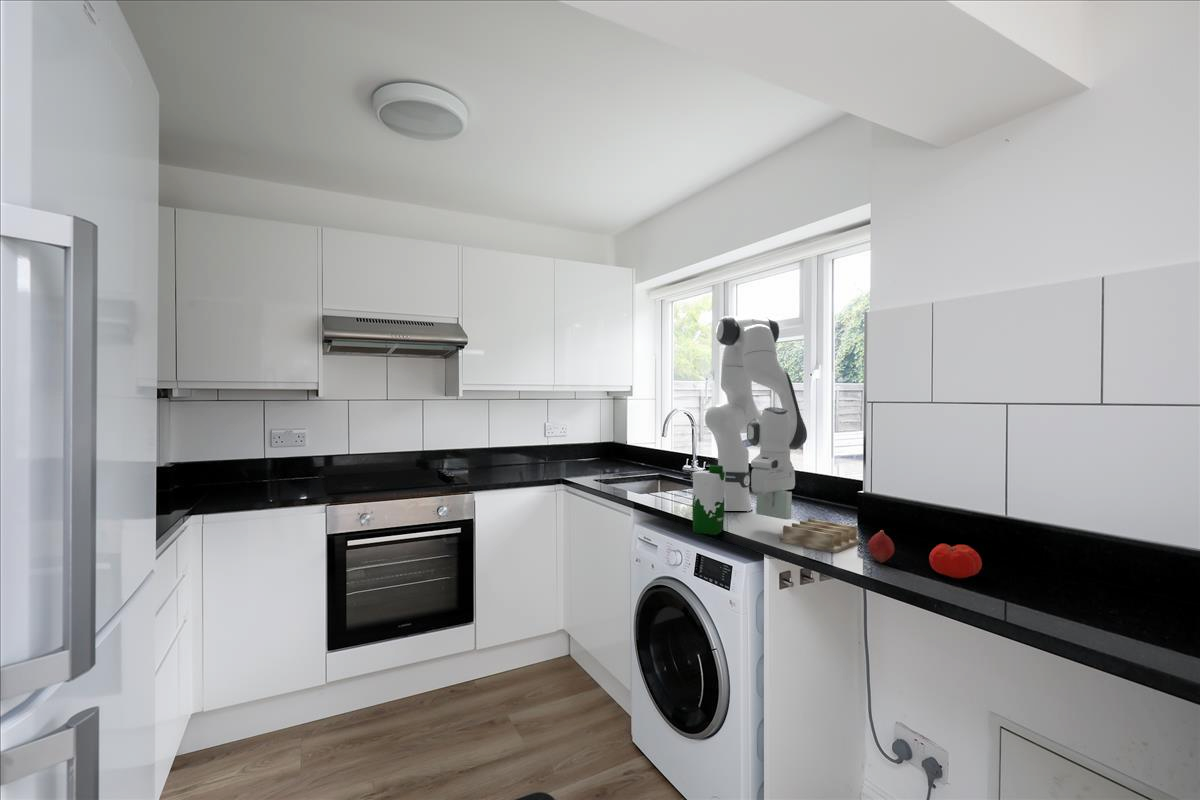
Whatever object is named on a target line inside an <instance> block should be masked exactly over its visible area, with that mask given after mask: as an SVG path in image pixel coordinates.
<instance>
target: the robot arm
mask: <svg viewBox="0 0 1200 800" xmlns="http://www.w3.org/2000/svg"><path fill="white" fill-rule="evenodd" d="M717 322H718V323H717V326H716V331H715V332H716V339H717V341H718V342H719V344H722V345H724V347H723V348H724V349H723V353H722V358H721V359H722V361H721V372H720V373H721V374H720V375H721V377H720V387H721V390H722V391H723V392H724V393H725V395H726V397H727V402H728V403H719V404H715V405H713V406H711V407H709V408H708V409H707V411H706V413H705V416H704V422H705V425H706V427H707V429H708V430H709V431H710V432H711V433H712V435H713V437H714V440H715V443H716V447H717V461H718V462H717V465H720V466H723V472H726V475H725V493H724V511H747V512H750V511H751V510H752V511H753V509H754V508H753V506H752V503H751V502H752V501H751V495H750V487H751V491H752V493H753V494H756V495H757V494H764V497H765V500H766V506H767V507H773V506H774V501H772V496H773V492H777V491H781V490H782V491H788V490H793V489H795V486H796V472H795V467H794V465H793V463H792V461H791V450H792V451H793V450H795V451H797V450H798V449H799V448H801V447H802V446H803V445H804V444H805V442H806V441H807V439H808V432H807V427H806V425H805V422H804V419H803V418H802V414H801V412H800V411H801V410H800V409H799V404H798V401H797V396H796V393H795V389H794V385H793V383H792V379H791V377H790V375H789V373H788V372H787V371H785V370H784V369H783V367H782V366H781V365H780V362H779V360H778V355H777V354H778V353H777V347H776V343H777V341H778V340H779V336H780V326H779V323H778V322H777V320H775V319H773V318H770V317H761V316H754V315H740V316H739V315H738V316H737V315H736V316H735V315H734V316H733V315H727V316H723V317H722V318H720V319H719V321H717ZM752 381H753V382H754V383H756V384H758V385H760V386H763V387H765V388H768V389H770V390H772V391H773V392H774V393H776V395H777V396H778V398H779V400H780V403H781V404H780V405H781V407H765V408H764V409H763V410H762V412H761V411H760V410H759V409H758V407H757V405H756V402H755V400H754V395H753V389H752V383H753V382H752ZM741 434H746V440H747V441H748V442H749V443H750V444H751V445H752V446H753V447H758V448H760V450H759V454H757V456H755V458H753V459H751V461H750V460H749V459H750V458H749V457H750V452H749V449H748V447H746V446H745V444H744V443H743V440H742V436H741ZM749 461H750V463H749ZM749 464H750V466H751V468H752V470H751V473H750V470H749ZM750 475H751V476H750ZM750 482H751V483H750ZM750 484H751V485H750ZM691 503H692V504H693V502H691ZM692 504H691V505H692Z"/></svg>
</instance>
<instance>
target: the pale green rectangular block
mask: <svg viewBox="0 0 1200 800" xmlns="http://www.w3.org/2000/svg"><path fill="white" fill-rule="evenodd" d="M792 493H793V492H792V491H788V490H784V491H782V490H781V491H777V492H773V496H772V501H774V506H773V507H767V506H766V500H765V497H764V494H756V504H755V505H756V506H755V507H756V509H755V512H756V513H755V514H756V515H758V516H763V517H764V516H765V517H771V518H776V519H780V520H784V521H785V520H790V519H792V503H793V502H792V497H793V494H792Z"/></svg>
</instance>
